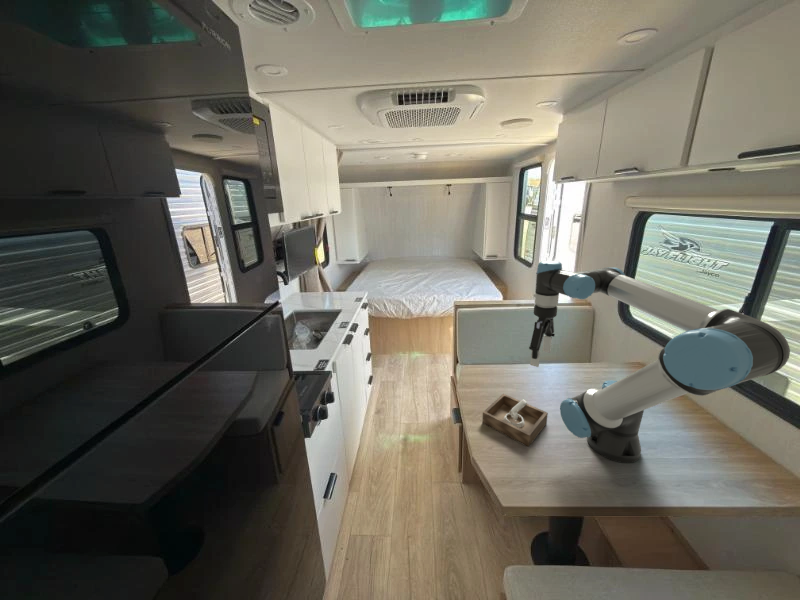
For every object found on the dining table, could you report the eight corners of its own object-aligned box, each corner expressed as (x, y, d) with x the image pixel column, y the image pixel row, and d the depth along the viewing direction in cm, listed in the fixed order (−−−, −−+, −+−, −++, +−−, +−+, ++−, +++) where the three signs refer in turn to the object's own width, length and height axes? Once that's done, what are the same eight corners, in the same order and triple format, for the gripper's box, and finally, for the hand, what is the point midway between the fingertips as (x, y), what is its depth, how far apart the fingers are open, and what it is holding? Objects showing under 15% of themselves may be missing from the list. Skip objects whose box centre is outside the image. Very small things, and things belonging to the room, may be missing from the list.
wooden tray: (546, 423, 116) (547, 412, 115) (528, 447, 106) (529, 435, 104) (502, 403, 129) (503, 393, 127) (482, 423, 118) (482, 412, 117)
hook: (542, 416, 112) (529, 410, 109) (519, 435, 116) (506, 430, 113) (532, 400, 118) (520, 394, 116) (511, 419, 122) (499, 413, 120)
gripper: (545, 294, 120) (541, 344, 126) (522, 312, 102) (518, 369, 108) (566, 297, 115) (560, 348, 121) (545, 316, 97) (540, 375, 103)
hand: (540, 358), depth 115 cm, fingers open, 13 cm apart
